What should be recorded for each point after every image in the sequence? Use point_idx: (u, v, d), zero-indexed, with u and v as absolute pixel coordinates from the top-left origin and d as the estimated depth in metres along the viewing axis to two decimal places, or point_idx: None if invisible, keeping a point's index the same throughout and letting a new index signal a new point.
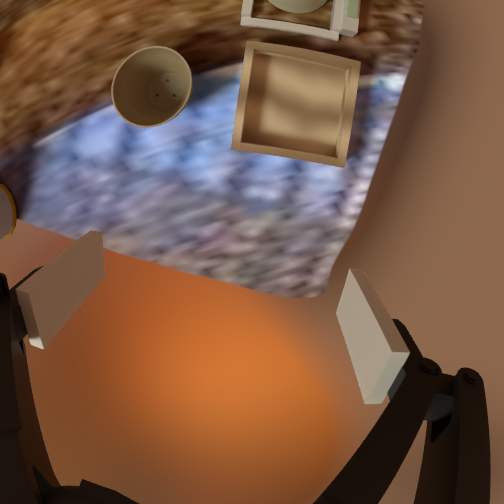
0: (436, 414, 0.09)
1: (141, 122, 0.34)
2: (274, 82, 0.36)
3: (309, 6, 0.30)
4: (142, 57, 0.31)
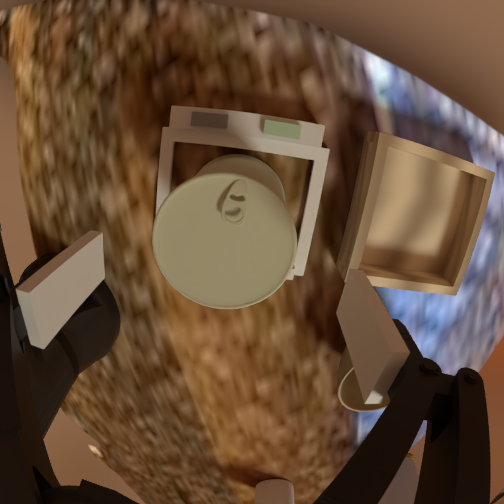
0: (436, 414, 0.09)
1: None
2: (387, 238, 0.30)
3: None
4: (340, 385, 0.32)
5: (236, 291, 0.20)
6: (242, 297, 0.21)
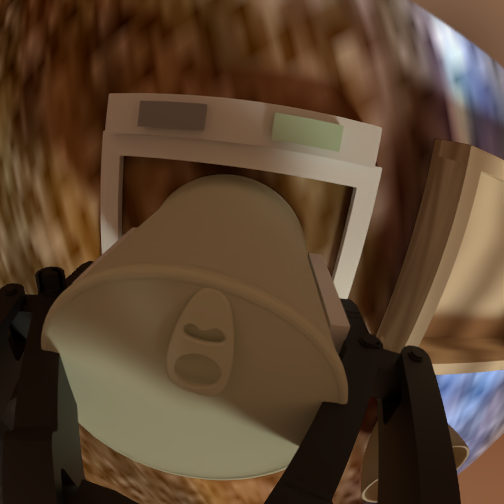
0: (381, 391, 0.10)
1: None
2: (450, 302, 0.18)
3: (303, 244, 0.16)
4: None
5: (218, 464, 0.09)
6: (230, 470, 0.09)
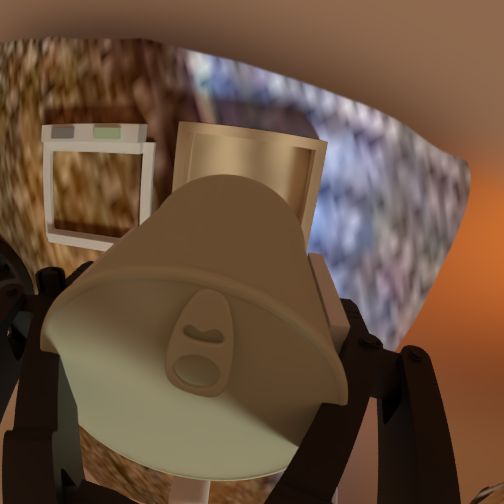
0: (381, 391, 0.10)
1: None
2: None
3: None
4: None
5: (218, 465, 0.09)
6: (229, 471, 0.09)
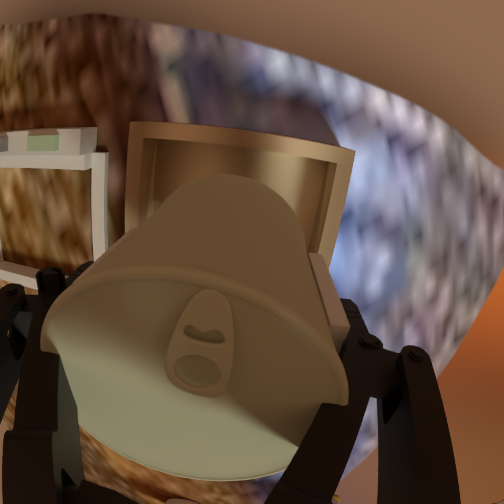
0: (380, 391, 0.10)
1: None
2: None
3: (303, 244, 0.16)
4: None
5: (219, 466, 0.09)
6: (230, 471, 0.09)
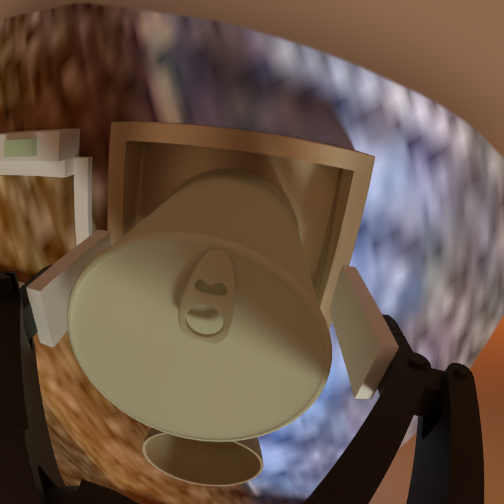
0: (426, 409, 0.09)
1: (254, 462, 0.23)
2: None
3: (298, 232, 0.17)
4: (161, 450, 0.23)
5: (220, 424, 0.11)
6: (230, 430, 0.11)
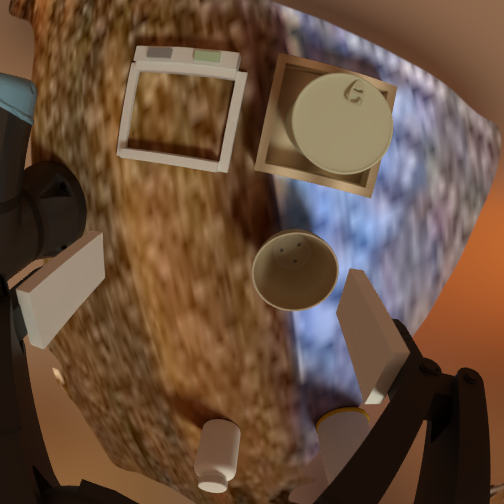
0: (436, 414, 0.09)
1: (328, 283, 0.37)
2: None
3: None
4: (258, 277, 0.38)
5: (350, 159, 0.25)
6: (353, 165, 0.26)
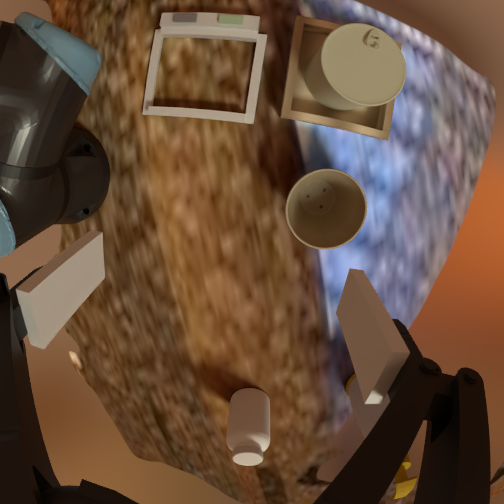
0: (436, 414, 0.09)
1: (356, 221, 0.38)
2: None
3: None
4: (290, 218, 0.39)
5: (373, 93, 0.26)
6: (376, 98, 0.26)
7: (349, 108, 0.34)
